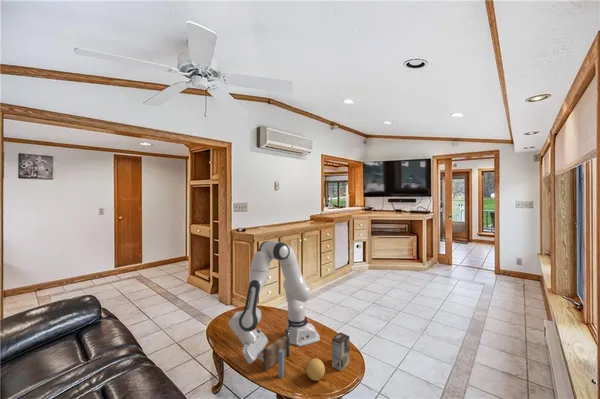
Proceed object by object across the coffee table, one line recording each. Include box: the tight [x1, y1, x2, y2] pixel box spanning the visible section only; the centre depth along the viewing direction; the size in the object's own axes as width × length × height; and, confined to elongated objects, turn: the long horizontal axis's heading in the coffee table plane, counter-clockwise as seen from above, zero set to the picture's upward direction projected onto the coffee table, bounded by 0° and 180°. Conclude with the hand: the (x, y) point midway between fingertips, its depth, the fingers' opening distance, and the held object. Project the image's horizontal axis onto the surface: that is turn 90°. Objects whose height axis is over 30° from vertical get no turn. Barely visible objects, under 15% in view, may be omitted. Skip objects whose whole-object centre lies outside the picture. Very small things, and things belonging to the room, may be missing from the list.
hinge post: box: [284, 327, 290, 358], centre depth 163 cm, size 3×3×16 cm
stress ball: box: [305, 357, 326, 381], centre depth 143 cm, size 10×10×10 cm
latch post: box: [278, 349, 285, 379], centre depth 145 cm, size 2×2×14 cm
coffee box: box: [331, 332, 350, 372], centre depth 154 cm, size 9×6×16 cm
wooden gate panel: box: [262, 335, 287, 371], centre depth 155 cm, size 17×2×11 cm, turn 140°
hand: (265, 359), depth 152 cm, fingers closed
